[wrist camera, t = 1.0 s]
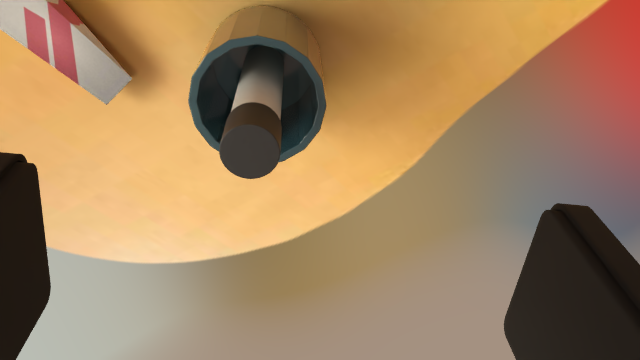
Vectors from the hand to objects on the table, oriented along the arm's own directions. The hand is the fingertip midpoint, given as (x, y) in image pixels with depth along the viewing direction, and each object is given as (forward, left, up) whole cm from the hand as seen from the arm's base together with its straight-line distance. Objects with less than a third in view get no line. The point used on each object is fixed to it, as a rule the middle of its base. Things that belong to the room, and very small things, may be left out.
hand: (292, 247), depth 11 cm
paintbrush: (+11, -15, -32) cm, 37 cm away
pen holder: (+6, +2, -32) cm, 32 cm away
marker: (+6, +2, -31) cm, 32 cm away
